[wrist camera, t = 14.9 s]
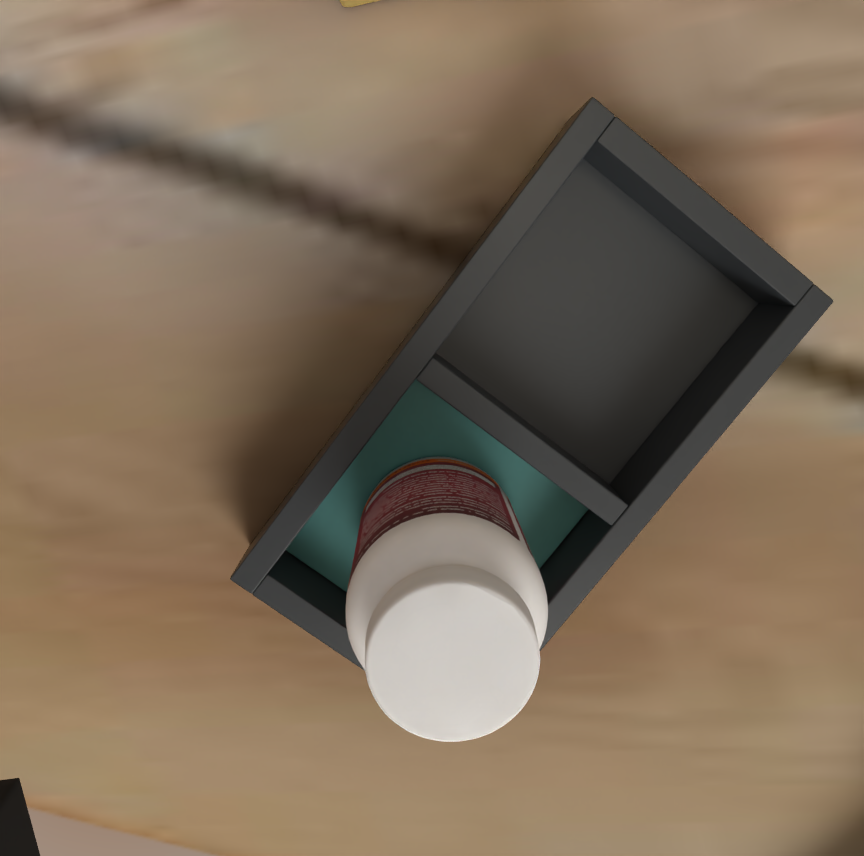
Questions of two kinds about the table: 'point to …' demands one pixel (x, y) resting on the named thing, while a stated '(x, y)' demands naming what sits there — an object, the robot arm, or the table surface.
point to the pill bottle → (445, 601)
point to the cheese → (355, 2)
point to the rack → (556, 373)
